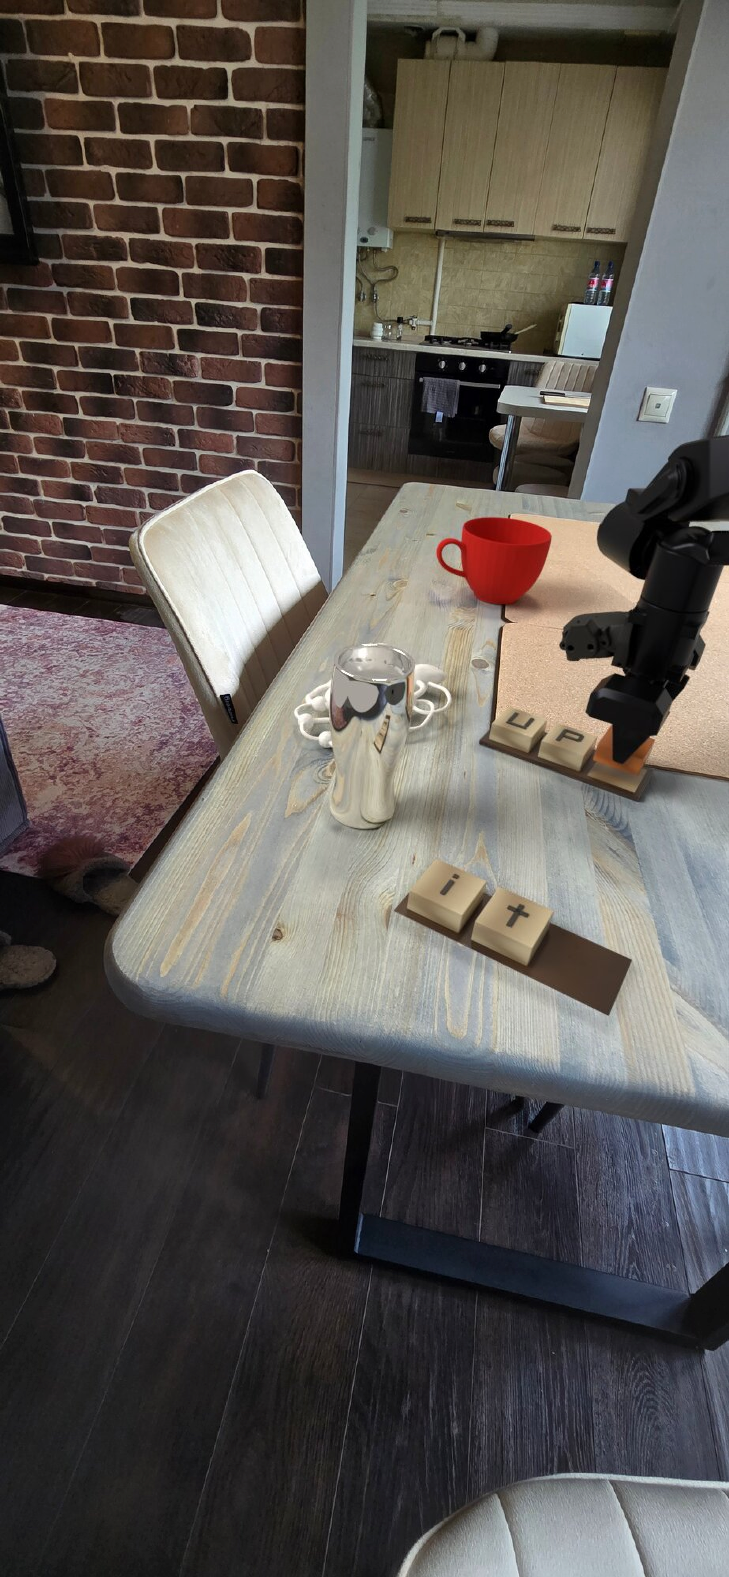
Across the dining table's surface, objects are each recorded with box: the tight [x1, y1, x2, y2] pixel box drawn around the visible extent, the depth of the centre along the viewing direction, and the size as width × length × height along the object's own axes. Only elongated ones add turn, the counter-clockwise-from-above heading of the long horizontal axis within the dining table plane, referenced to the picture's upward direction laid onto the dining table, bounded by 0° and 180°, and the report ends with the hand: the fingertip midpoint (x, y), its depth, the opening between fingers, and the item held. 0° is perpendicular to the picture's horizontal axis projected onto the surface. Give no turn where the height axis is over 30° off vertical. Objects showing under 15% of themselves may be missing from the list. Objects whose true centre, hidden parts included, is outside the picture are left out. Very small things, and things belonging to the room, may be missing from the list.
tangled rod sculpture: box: [293, 642, 453, 749], centre depth 81 cm, size 19×14×4 cm
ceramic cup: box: [435, 516, 553, 605], centre depth 109 cm, size 13×17×10 cm
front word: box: [393, 858, 633, 1017], centre depth 55 cm, size 17×6×3 cm, turn 58°
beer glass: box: [328, 642, 416, 830], centre depth 63 cm, size 7×7×15 cm
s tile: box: [593, 724, 656, 776], centre depth 73 cm, size 4×4×2 cm
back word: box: [478, 706, 655, 803], centre depth 76 cm, size 17×6×3 cm, turn 58°
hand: (624, 751), depth 73 cm, fingers closed on s tile, 4 cm apart
